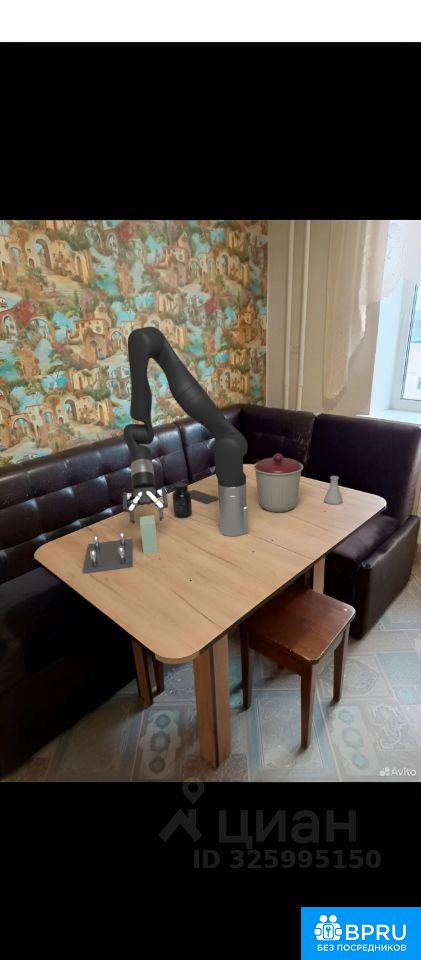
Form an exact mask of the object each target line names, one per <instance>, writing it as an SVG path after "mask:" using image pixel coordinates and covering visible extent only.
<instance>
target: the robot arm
mask: <svg viewBox="0 0 421 960" xmlns="http://www.w3.org/2000/svg"><path fill="white" fill-rule="evenodd" d="M127 354H128V355H127V356H128V364H129V366H128V367H129V374H130V376H129V377H130V385H131V386H130V388H131V389H130V392H131V393H130V407H129V408H130V409H129V410H130V411H129V416H130V417H131V419H132V420H135V421H137V422H140V423H141V422H142V423H143V424H142V423H141V424H140V423H128V424H126V425H125V427H124V428H123V432H122V434H123V435H122V436H123V439H124V442H125V444H126V446H127V449H128V452H129V455H130V464H131V465H130V467H131V468H130V473H131V474H130V477H131V486H132V487H131V489H132V490H131V492H126V491H124V492H123V493H122V508H123V512H124V513H129V521H130V523H132V524H133V525H134V524H135V523H136V522H135V520H136V519H135V510H136V509H137V508H138V507H139V505H140V506H144V505H151V504H153V505H154V506H155V507H156V508H157V509H158V518H159V519H158V520H159V521H160V522H161V521H162V520H163V519H164V509H166V508H168V507H169V501H168V497H167V496H168V494H167V491H166V488H164V487H162V488H161V489H157V487H156V478H155V470H154V465H153V459H152V451H151V448H149V447H148V446H145V445H150V444H151V443H153V441H154V439H155V434H154V433H155V432H154V427H153V423H152V422H153V421H152V406H153V405H152V404H153V394H152V388H151V386H150V382H149V379H148V368H149V361H150V359H152V360H154V362H155V363H156V364H157V365H158V366H159V368H160V369H161V370H162V371H163V374H164V375H165V377H166V381H167V384H168V389H169V391H170V394H171V396H172V398H173V399H174V401H175V402H176V403H177V405H179V407H180V408H181V409H182V411H183V412H184V413H185V414H186V415H188V417H189V418H191V419H192V420H194V421H196V422H197V423H198V424H200V425H201V426H203V427H204V428H205V429H206V430H207V431H208V433H210V434H211V436H212V437H213V438H214V440H215V441H216V443H215V445H214V449H213V456H214V457H213V458H214V459H213V460H214V472H215V476H216V478H217V491H218V493H217V494H218V496H217V497H218V498H219V499H218V514H219V516H218V517H219V531H220V533H221V534H222V535H224V536H227V537H239V536H242V535H245V534H248V533H249V532H248V531H249V528H248V524H249V523H248V522H249V521H248V505H247V475H246V473H245V472H244V457H245V455H246V454H247V453H248V442H247V439H246V437H244V435H243V434H242V433H241V432H240V431H239V430H238V429H237V428H236V427H235V426H234V425H233V424H232V423H231V422H230V421H229V420H228V418H227V417H226V416H225V415H224V414H223V412H222V411H221V410H220V408H218V406H217V405H216V403H215V402H214V400H213V399H212V398H211V397H210V395H209V394H208V393H207V392H206V390H205V389H204V388H203V386H202V385H201V384H200V383H199V382H198V380H197V379H196V378H195V377H194V376H193V374H192V373H191V371H190V370H189V369H188V368H187V366H186V365H185V364H184V362H183V361H182V360H181V359H180V357H179V355H177V353H176V352H175V349H173V346H171V344H170V342H169V341H168V338H166V336H165V334H163V332H162V331H161V330H160V329H159V328H157V327H155V326H145V327H141V328H136V329H134V330H132V331H131V332H130V333H129V335H128V337H127ZM158 495H159V496H160V497H162V502H163V503H161V501H160V500H159V499H158V498H157V496H158ZM131 497H132V499H133V501H132V503H131V505H129V506H128V501H130V499H131Z"/></svg>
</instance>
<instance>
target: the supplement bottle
mask: <svg viewBox="0 0 421 960" xmlns="http://www.w3.org/2000/svg"><path fill="white" fill-rule="evenodd" d="M173 487H174V491H173V493H172V494H171V495H172V507H173V516H174V517H175V518H178V519H187V518H190V517H191V516H192V515H193V509H192V508H193V506H192V499H191V493H190V491H191V490H189V487H188V483H186V482H177V483H175V484H174V486H173Z"/></svg>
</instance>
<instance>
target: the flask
mask: <svg viewBox="0 0 421 960" xmlns="http://www.w3.org/2000/svg"><path fill="white" fill-rule="evenodd" d="M339 478H340V477H339V476H337V475H332V476H331V475H330V478H329V479H330V483H329V486H328V490H327V491H326V492H327V493H326V494H325V496H324V498H323V503H325V502H326V503H325V504H329V505H336V504H338V505H340V504H343V498H342V494H341V490H340V487H339V481H338V480H339Z"/></svg>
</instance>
